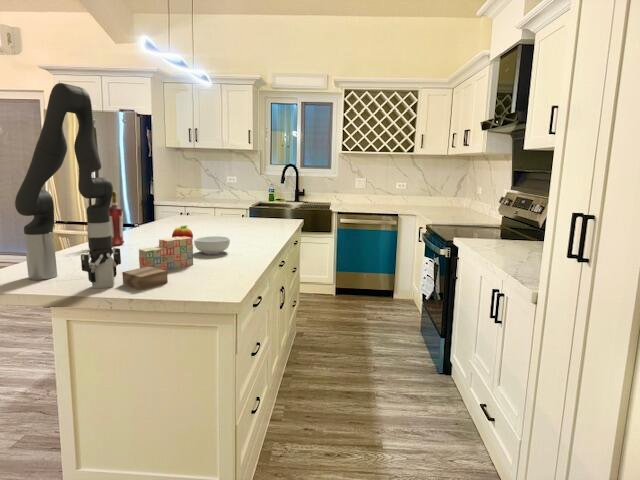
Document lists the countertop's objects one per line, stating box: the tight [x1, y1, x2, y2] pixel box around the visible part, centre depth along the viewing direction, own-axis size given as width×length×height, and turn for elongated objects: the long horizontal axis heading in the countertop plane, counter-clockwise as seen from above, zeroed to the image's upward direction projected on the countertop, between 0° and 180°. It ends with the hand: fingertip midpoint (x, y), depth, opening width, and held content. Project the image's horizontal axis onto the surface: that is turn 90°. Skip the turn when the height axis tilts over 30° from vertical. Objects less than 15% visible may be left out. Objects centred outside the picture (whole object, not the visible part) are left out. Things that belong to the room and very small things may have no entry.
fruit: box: [171, 225, 194, 240], centre depth 233 cm, size 11×11×10 cm
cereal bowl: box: [193, 235, 231, 255], centre depth 214 cm, size 17×17×7 cm
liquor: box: [109, 191, 125, 246], centre depth 227 cm, size 7×7×28 cm
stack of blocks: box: [138, 236, 194, 271], centre depth 184 cm, size 21×6×12 cm, turn 138°
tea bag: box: [91, 259, 115, 289], centre depth 156 cm, size 4×7×10 cm, turn 108°
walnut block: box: [122, 266, 169, 291], centre depth 160 cm, size 11×11×5 cm
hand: (103, 279), depth 156 cm, fingers closed on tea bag, 7 cm apart
